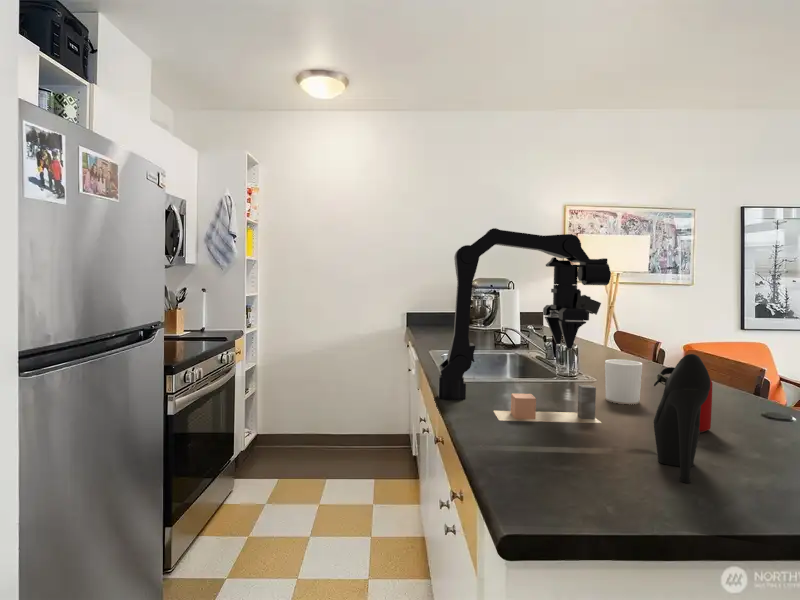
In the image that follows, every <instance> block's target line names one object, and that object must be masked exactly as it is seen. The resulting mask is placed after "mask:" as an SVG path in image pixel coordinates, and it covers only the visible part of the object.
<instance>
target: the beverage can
mask: <svg viewBox="0 0 800 600" xmlns="http://www.w3.org/2000/svg"><path fill="white" fill-rule="evenodd" d="M710 382H711V385H710V391H709V394H708V397H707V399H706V401H705V402H704V403H703V404H702V405H701V413H700V428H699V430H700V433H704V432H706V431H708V430H710V429H711V427H712V424H711V423H712V408H713V381H712V379H711V378H710Z"/></svg>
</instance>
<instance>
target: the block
mask: <svg viewBox="0 0 800 600" xmlns="http://www.w3.org/2000/svg"><path fill="white" fill-rule="evenodd" d="M536 407H537V398H536V397H535V396H534V395H533V394H532V393H511V396H510V411H511V414H512V415H513V417H514V418H515V419H536V412H537V408H536Z"/></svg>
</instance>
